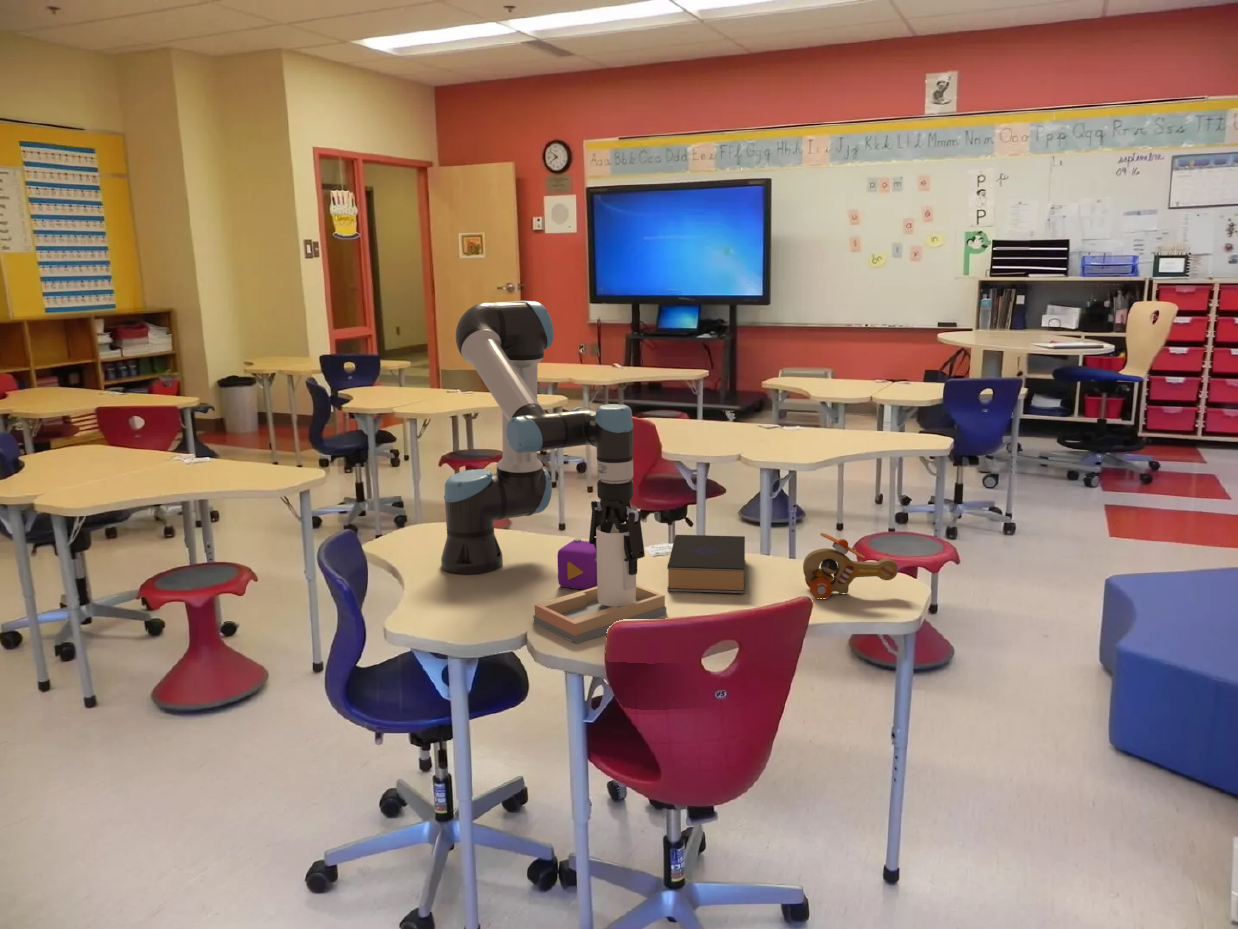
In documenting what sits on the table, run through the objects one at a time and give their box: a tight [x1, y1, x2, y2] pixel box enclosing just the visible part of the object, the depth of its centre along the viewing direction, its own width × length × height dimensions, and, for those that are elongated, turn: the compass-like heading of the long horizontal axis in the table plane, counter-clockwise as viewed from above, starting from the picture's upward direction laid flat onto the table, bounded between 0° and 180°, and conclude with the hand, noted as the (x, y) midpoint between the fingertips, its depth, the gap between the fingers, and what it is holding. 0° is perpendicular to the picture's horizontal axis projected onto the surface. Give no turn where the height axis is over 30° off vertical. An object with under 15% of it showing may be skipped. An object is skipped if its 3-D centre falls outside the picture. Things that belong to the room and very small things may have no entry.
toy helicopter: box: [802, 532, 899, 600], centre depth 209 cm, size 8×21×14 cm, turn 88°
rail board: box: [532, 583, 667, 644], centre depth 198 cm, size 15×24×4 cm, turn 130°
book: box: [666, 534, 746, 594], centre depth 223 cm, size 17×25×7 cm
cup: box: [595, 522, 636, 607], centre depth 199 cm, size 8×8×16 cm
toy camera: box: [556, 538, 597, 591], centre depth 217 cm, size 11×14×10 cm
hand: (616, 582), depth 200 cm, fingers closed on cup, 8 cm apart
